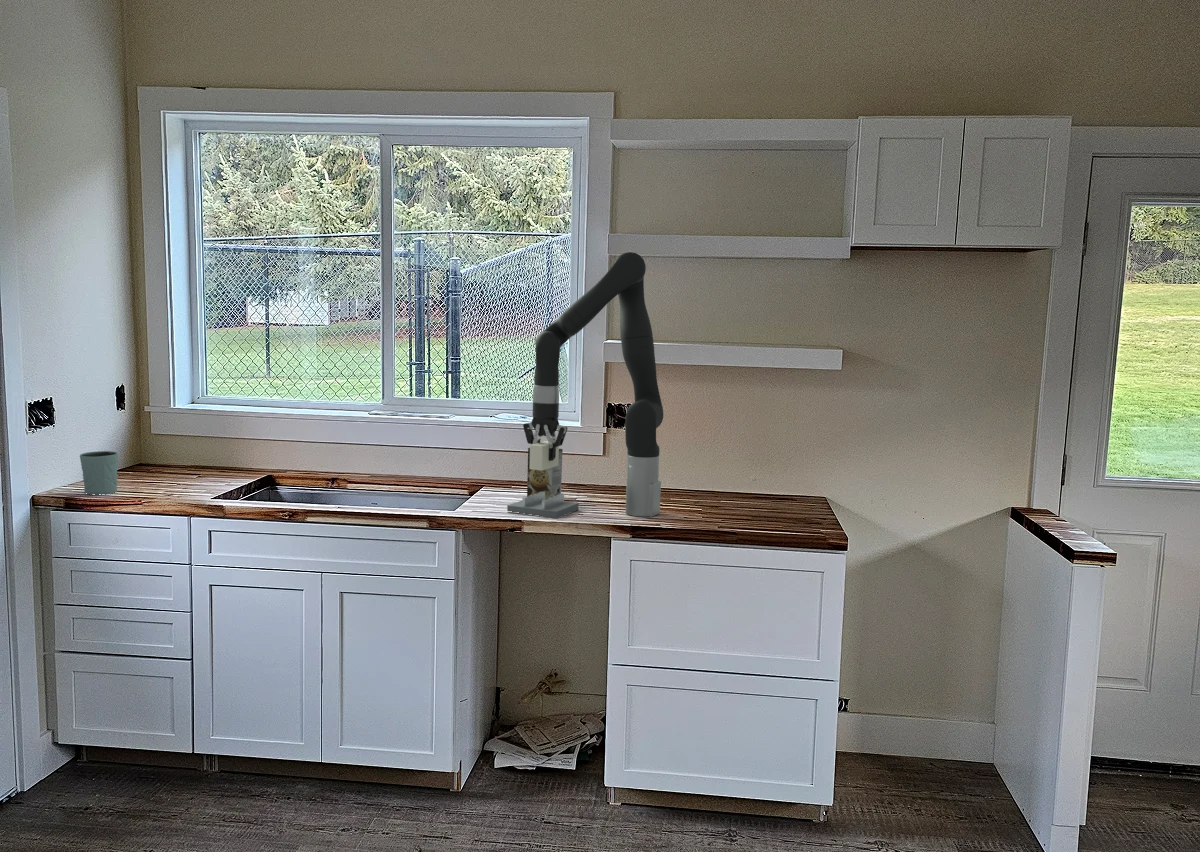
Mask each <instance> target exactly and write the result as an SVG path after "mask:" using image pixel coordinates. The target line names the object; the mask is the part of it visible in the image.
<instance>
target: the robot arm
mask: <svg viewBox="0 0 1200 852" xmlns="http://www.w3.org/2000/svg"><path fill="white" fill-rule="evenodd" d="M646 268H647V266H646V262H645V260H644V258H643V256H641V255H640V254H638V253H637V252H632V251H629V252H624V253H621V254H620V255H619V256H618V257H617V258H616V259H615V261H614V263H613V264H612V266H611V267H610V268H609V270H608V271H607V272H606V273H605V275H603V277H602V278H601V279H600V280H598V281H597V283H595V285H593V286H592V288H590V289H589V290H588V291H586V292H585V293H584V294H583V295H582V296H580V297H579V298H578V299H577V300H576V301H574V302H573V303H572V304H571V305H570V306H569V307H568V308H566V310H564V312H562V313H561V314H560V315H559V317H558V318H557V319H556V320H555V321H553V322H552V323H550V324H549V325H548V326H547V327H546V328H544V329H543V330H542V331H541V332H540V333H538V335H537V336H536V338H535V341H534V342H535V343H534V345H535V369H534V379H533V380H534V382H533V384H534V385H533V392H532V420H531V422H527V423H523V424H522V427H523V430H524V434H525V438H526V442H527V443H528V444H530V445H532V444H536V443H540V442H542V440H543V438H544V437H545V438H546V441H548V443H549V447H550V448H549V461H553V460H554V459H555V457H556V447H558V446H559V447H562V446H563V444H564V441H565V437H566V435H567V432H568V427H567V426H563V425H561V424H560V421H559V415H560V414H559V410H560V389H559V385H560V383H559V381H560V372H559V371H560V370H559V364H560V356H561V355H560V352H561V347H563V346H564V344H565V343H567V342H568V341H569V339H570V338H572V337H574V336H576V335H577V334H578V333H579V332H581V330H583V329H584V328H585V327H586V326H587V325H588V324H589V323H590V322H592V320H593V319H595V317H596V316H598V315H599V313H600V312H601V311H602V310H603V309H604V308H605V307H606V306H607V305H608V304H609V303H610V302H611V301H612V300H613V299H614V298H615V297H617V296H618V301H619V302H618V303H619V330H620V331H619V332H620V333H619V334H620V342H621V343H620V344H621V350H622V351H621V352H622V357H623V360H624V363H625V365H626V369H627V370H628V373H629V376H630V378H631V381H632V385H633V393H634V402H633V403H631V404H630V405H629V406H628V408H627V410H626V413H625V414H626V415H625V423H624V425H625V427H624V428H625V429H624V430H625V433H624V435H625V447H626V450H627V454H626V455H627V456H626V458H627V459H626V462H627V463H626V485H625V486H626V491H625V493H626V494H625V514H626V515H629V516H633V517H649V518H653V517H655V516H656V515H659V514H660V513H661V492H662V491H661V490H662V489H661V487H662V482H661V480H659V471H660V446H659V445H658V442H657V429H658V428H659V427H660V426H661V424H662V423H663V421H664V407H663V403H662V399H661V395H660V394H661V393H660V390H659V385H658V378H657V366H656V365H657V363H656V356H655V355H656V354H655V344H654V334H653V328H652V323H651V320H650V317H649V314H648V310H647V306H646V300H645V287H644V286H645V285H644V284H645V283H644V279H645V278H644V277H645V274H646V271H647V269H646ZM533 429H534V433H533ZM556 431H557V435H556Z"/></svg>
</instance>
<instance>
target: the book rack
mask: <svg viewBox="0 0 1200 852" xmlns="http://www.w3.org/2000/svg"><path fill="white" fill-rule="evenodd" d="M579 505H580V504H579V502H574V501H573V502H572V501H565V493H561V494H559V495H556V496H553V497H550V498H547V499H545V491H542V492H539V493H536V494H533V495H530V496H527V495H526V496H523V497H522V500H520V501H517V502H514V503H510V504H507V507H506V509H507V510H506V511H512V512H519V513H525V514H532V515H531V516H533V515H539V516H538V517H540V516H545V517H544V518H548V517H551V518H550V519H555V518H557V519H559V518H561V516H562V517H564V516H566V515H565V514H567V515H569V514H571V513H570V512H572V513H574V512H576V511H575V510H577V511H579V510H578V509H579V508H580V506H579ZM573 511H574V512H573ZM568 513H569V514H568ZM525 514H524V515H525ZM563 515H564V516H563Z"/></svg>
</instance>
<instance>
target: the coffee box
mask: <svg viewBox="0 0 1200 852" xmlns="http://www.w3.org/2000/svg"><path fill="white" fill-rule="evenodd" d="M529 467H530V447H528V448H527V476H526V477H527V482H526V485H527V488H526V497H527V496H530V495H533V494H536V493H539V492H542V491H545V499H547V498H550V497H553V496H556V495H559V494H562V477H563V476H562V472H563V471H562V469H563V448H559V460H558V466H556V467H552V468H549V469H545V470H542V471H541V470H533V469H529Z"/></svg>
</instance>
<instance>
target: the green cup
mask: <svg viewBox="0 0 1200 852" xmlns="http://www.w3.org/2000/svg"><path fill="white" fill-rule="evenodd" d="M79 459H80V465H81V471H82V479H83V483H84V484H83V486H84V494H85V493H87V494H95V495H99V494H109V493H114V492H116V493H117V492H118V483H117V482H118V467H119V466H118V464H119V463H118V460H119V453H118V452H117V451H110V450H104V451H103V450H98V451H88V452H84V453H80V454H79ZM114 494H115V493H114Z"/></svg>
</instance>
